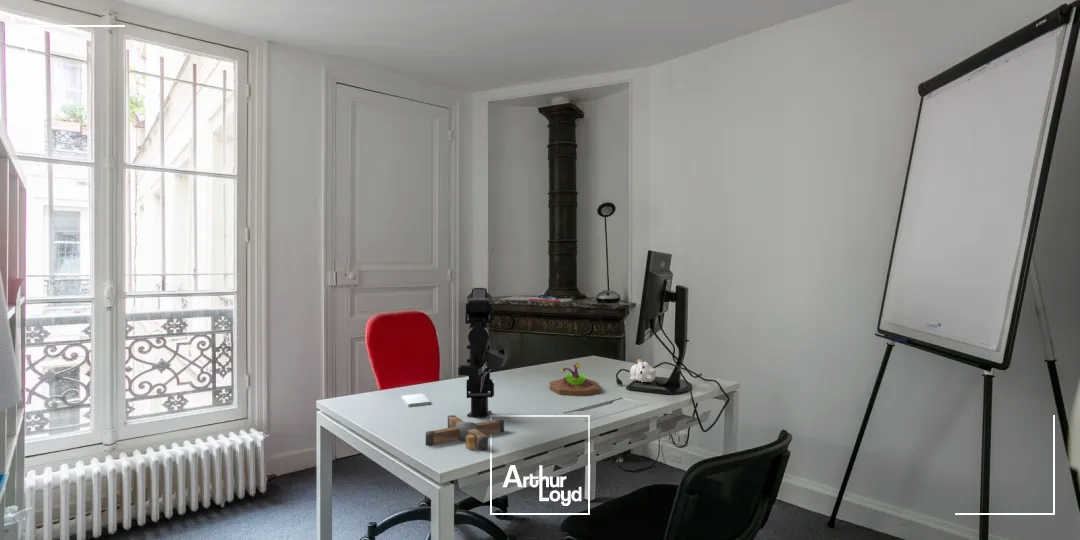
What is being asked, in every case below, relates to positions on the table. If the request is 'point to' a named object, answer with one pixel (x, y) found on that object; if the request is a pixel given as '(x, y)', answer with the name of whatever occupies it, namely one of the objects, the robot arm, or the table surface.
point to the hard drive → (415, 400)
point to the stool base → (463, 431)
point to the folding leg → (479, 439)
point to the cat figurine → (642, 372)
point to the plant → (574, 384)
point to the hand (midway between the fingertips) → (478, 393)
